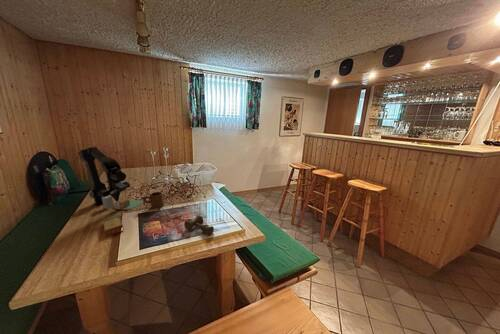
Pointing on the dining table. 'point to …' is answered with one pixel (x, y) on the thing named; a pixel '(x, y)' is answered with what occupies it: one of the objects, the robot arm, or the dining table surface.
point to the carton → (112, 225)
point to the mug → (155, 199)
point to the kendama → (199, 225)
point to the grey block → (107, 202)
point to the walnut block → (122, 204)
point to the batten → (122, 208)
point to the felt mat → (134, 203)
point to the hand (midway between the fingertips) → (117, 201)
